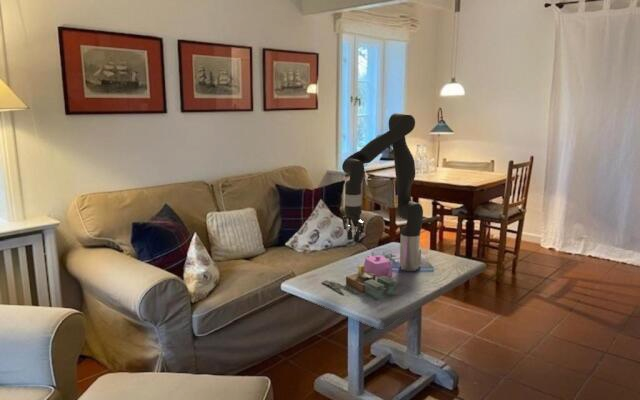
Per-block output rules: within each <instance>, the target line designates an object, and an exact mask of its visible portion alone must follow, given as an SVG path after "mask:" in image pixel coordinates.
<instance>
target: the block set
mask: <svg viewBox="0 0 640 400" xmlns="http://www.w3.org/2000/svg"><path fill="white" fill-rule="evenodd" d="M365 273H367V274H369V275H371V276H373V277H374V280H372V279H371V280H367V277H366V276H364V275H362V276H360V277H359V276H358V272H357V273H354V274H350V275H348V276H345V285H346V287H349V288H351V289H353V290H355V291H357V292H358V293H360V294H364V295H365V296H366V297H369V299H370V298H371V299H372V300H375V301H376V302H377V301H381V300H383V299H387V298H390V297H393V296H396V295H397V283H398V282H397V281H396V280H394V279H392V278H391V279H390V278H388V277H386V276H381V277H376V276H375V274H372V273H368V272H366V271H365Z"/></svg>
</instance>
